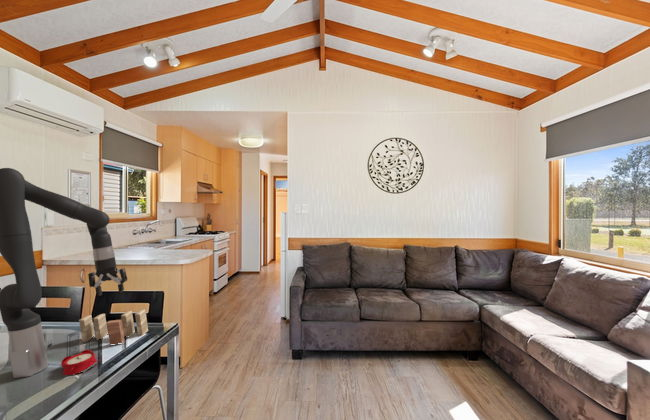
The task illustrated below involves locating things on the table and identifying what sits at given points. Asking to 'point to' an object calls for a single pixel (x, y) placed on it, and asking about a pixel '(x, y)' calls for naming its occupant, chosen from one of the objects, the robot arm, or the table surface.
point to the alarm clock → (78, 362)
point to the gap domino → (115, 331)
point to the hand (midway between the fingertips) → (110, 293)
